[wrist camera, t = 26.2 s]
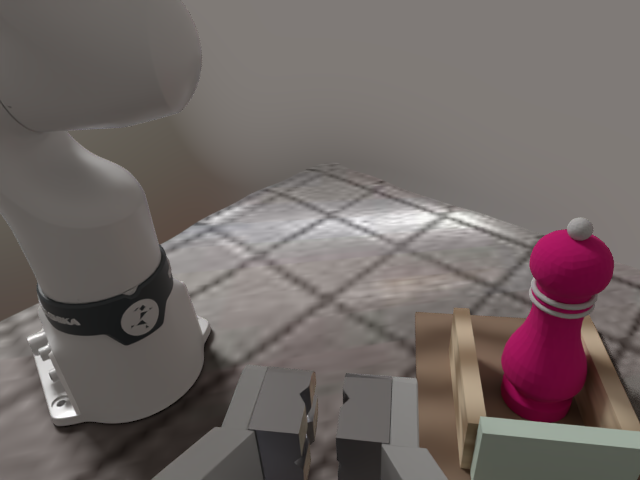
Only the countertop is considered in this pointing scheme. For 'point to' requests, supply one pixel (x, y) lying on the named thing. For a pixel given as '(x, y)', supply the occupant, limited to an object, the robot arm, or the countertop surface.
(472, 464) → the gate
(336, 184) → the countertop surface
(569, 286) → the pepper mill
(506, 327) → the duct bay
